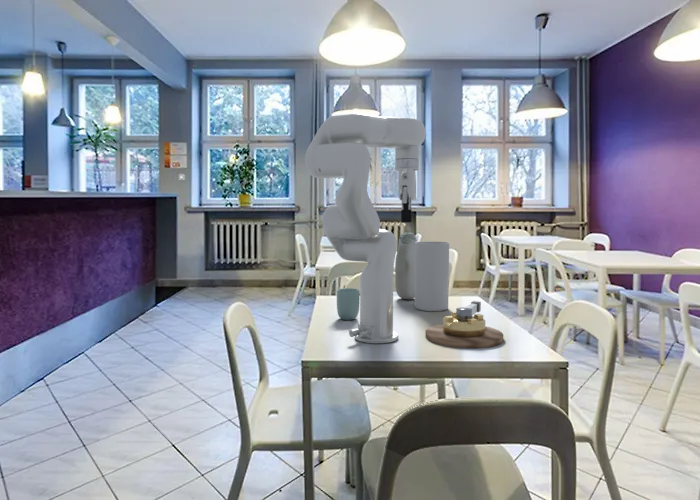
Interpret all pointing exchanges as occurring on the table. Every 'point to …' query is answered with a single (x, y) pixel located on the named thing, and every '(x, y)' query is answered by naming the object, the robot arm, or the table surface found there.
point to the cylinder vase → (431, 275)
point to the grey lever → (465, 321)
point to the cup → (348, 303)
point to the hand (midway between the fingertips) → (406, 222)
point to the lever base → (464, 338)
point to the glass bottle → (405, 266)
